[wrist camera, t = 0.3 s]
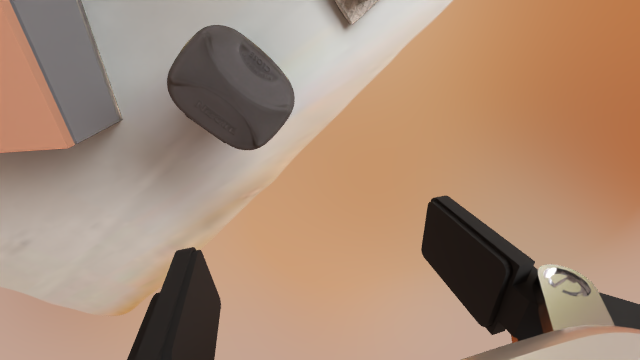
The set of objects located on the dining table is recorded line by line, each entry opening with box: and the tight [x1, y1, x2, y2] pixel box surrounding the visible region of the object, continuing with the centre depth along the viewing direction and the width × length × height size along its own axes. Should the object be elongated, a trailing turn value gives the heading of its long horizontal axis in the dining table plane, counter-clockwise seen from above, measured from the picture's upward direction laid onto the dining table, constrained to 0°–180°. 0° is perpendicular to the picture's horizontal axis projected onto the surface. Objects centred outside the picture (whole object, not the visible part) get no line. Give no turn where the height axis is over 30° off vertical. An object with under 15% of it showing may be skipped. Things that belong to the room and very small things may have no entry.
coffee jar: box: [167, 25, 294, 150], centre depth 27 cm, size 10×8×19 cm
